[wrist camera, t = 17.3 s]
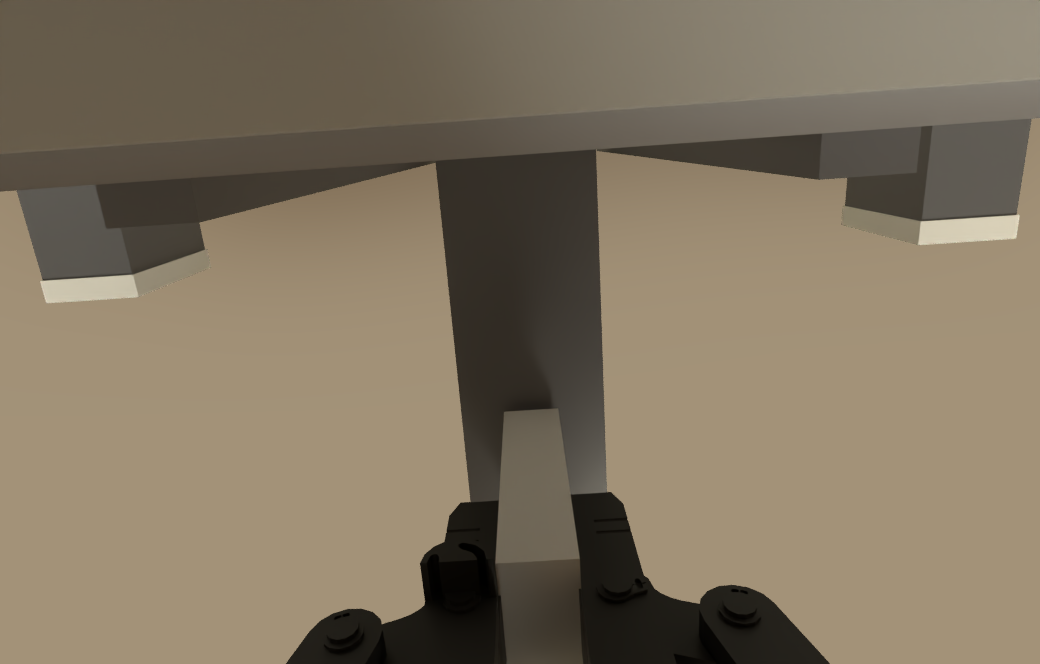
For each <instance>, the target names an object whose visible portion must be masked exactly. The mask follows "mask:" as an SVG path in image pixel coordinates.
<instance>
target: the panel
mask: <svg viewBox="0 0 1040 664" xmlns="http://www.w3.org/2000/svg"><path fill="white" fill-rule="evenodd" d="M1033 118H1040V0H0V191H14V190H17V193H18V197H19V200H20V204H21V207H22V210H23V213H24V217H25V221H26V224H27V227H28V231H29V234H30V238H31V241H32V245H33V248H34V251H35V255H36V258H37V262H38V265H39V268H40V272H41V275H42V279H43V280H42V281H40V284H41V287H42V290H43V294H44V297H45V301H46V303H57V302H72V301H87V300H102V299H117V298H132V297H140V296H142V295H145V294H147V293H150V292H152V291H155V290H157V289H160V288H162V287H164V286H167V285H169V284H171V283H174V282H177V281H179V280H182V279H184V278H186V277H189V276H191V275H194V274H196V273H198V272H201V271H204V270H206V269H208V268H211V265H210V260H209V256H208V251H207V249H205V248H204V243H203V239H202V234H201V229H200V224H199V222H203V221H207V220H211V219H215V218H219V217H223V216H227V215H230V214H235V213H239V212H242V211H246V210H250V209H254V208H258V207H262V206H266V205H270V204H274V203H278V202H282V201H286V200H290V199H293V198H298V197H302V196H306V195H309V194H313V193H316V192H321V191H325V190H329V189H333V188H337V187H341V186H345V185H349V184H353V183H356V182H361V181H364V180H369V179H372V178H377V177H381V176H385V175H388V174H392V173H396V172H400V171H404V170H408V169H412V168H416V167H420V166H424V165H428V164H432V163H436V161H438V160H452V159H467V158H481V157H495V156H509V155H523V154H537V153H552V152H566V151H580V150H594V149H597V151H602V152H610V153H618V154H626V155H634V156H641V157H649V158H657V159H664V160H672V161H679V162H687V163H695V164H703V165H710V166H718V167H726V168H734V169H741V170H749V171H757V172H765V173H772V174H780V175H787V176H795V177H803V178H811V179H819V180H820V179H834V178H847V190H846V202H845V206H843V210H842V223H841V224H842V225H844V226H848V227H851V228H855V229H859V230H863V231H867V232H871V233H874V234H878V235H882V236H886V237H889V238H893V239H897V240H901V241H905V242H909V243H912V244H916V245H925V244H941V243H956V242H970V241H986V240H1001V239H1015V238H1016V236H1017V235H1016V234H1017V229H1018V223H1019V217H1020V215H1016V214H1017V207H1018V201H1019V194H1020V188H1021V182H1022V176H1023V169H1024V163H1025V157H1026V150H1027V143H1028V138H1029V131H1030V125H1031V119H1033Z"/></svg>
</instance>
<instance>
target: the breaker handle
mask: <svg viewBox="0 0 1040 664" xmlns="http://www.w3.org/2000/svg"><path fill="white" fill-rule="evenodd" d="M436 170H437V180H438V189H439V199H440V209H441V218H442V228H443V238H444V248H445V257H446V266H447V277H448V287H449V296H450V306H451V316H452V325H453V335H454V343H455V344H454V345H455V354H456V364H457V373H458V383H459V393H460V403H461V412H462V422H463V432H464V441H465V451H466V460H467V470H468V480H469V490H470V500H471V502H482V501H498V500H499V491H500V474H501V457H502V439H503V422H504V412H508V411H524V410H539V409H555V408H558V411H559V418H560V425H561V432H562V439H563V446H564V453H565V460H566V467H567V473H568V480H569V487H570V494H588V493H604V492H607V482H606V453H605V452H606V451H605V420H604V390H603V357H602V326H601V295H600V263H599V233H598V201H597V170H596V149H594V150H580V151H566V152H552V153H537V154H523V155H509V156H495V157H481V158H467V159H452V160H438V161H436Z"/></svg>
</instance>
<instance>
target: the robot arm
mask: <svg viewBox="0 0 1040 664" xmlns="http://www.w3.org/2000/svg"><path fill="white" fill-rule="evenodd" d="M420 566H421V573H422V581H423V589H424V596H425V605H424V606H423V607H422V608H421V609H420V610H418V611H416V612H415V613H413V614H411V615H409V616H406V617H404V618H401V619H398V620H395V621H392V622H388V623H385V624H381V620H380V618H378V616H376V615H375V614H374V613H373V612H370V611H367V610H364V609H347V610H343V611H340V612H337V613H333V614H332V615H330V616H328V617H326V618H325V619H323V620H321V621H320V622H319V623H318V624H317V625H316V626H315V627H314V628H313V629H312V630H311V631H310V632H309V633H308V634H307V636H306V637H305V638H304V640H303V641H302V643H301V644H300V645H299V647H298V648H297V650H296V651H295V652H294V654H293V655H292V656H291V657H290V659H289V660H288V662H287V663H286V664H829V662H828V661H827V660H826V659H825V658H824V657H823V656H822V655H821V654H820V652H819V651H818V650H817V649H816V648H815V647H814V646H813V645H812V644H811V643H810V642H809V640H808V639H807V638H806V637H805V636H804V635H803V634H802V633H801V632H800V631H799V630H798V629H797V627H796V626H795V625H794V624H793V623H792V622H791V621H790V620H789V619H788V618H787V616H786V615H785V614H784V613H783V612H782V611H781V610H780V609H779V608H778V607H777V606H776V604H775V603H774V602H772V601H771V600H770V599H769V598H767V597H766V596H765V595H764V594H762V593H760V592H757V591H755V590H753V589H750V588H747V587H741V586H736V585H728V586H718V587H716V588H714V589H711V590H709V591H707V592H706V594H705V595H704V596H703V597H702V598H701V601H700V604H697V603H691V602H686V601H681V600H677V599H673V598H670V597H668V596H665V595H664V594H661V593H660V592H658V591H657V590H655V589H654V587H653V586H652V584H651V582H650V581H649V579H648V578H647V577H645V576H644V575H643V572H642V568H641V565H640V561H639V558H638V554H637V551H636V547H635V544H634V540H633V537H632V533H631V531H630V526H629V523H628V521H627V516H626V512H625V509H624V505H623V503H622V502H621V501H620V500H619V499H618V498H616V497H615V496H614V495H613V494H612V493H611V492H604V493H588V494H570V487H569V480H568V473H567V467H566V460H565V453H564V446H563V439H562V432H561V425H560V418H559V411H558V408H555V409H539V410H524V411H508V412H504V422H503V439H502V457H501V474H500V491H499V500H498V501H482V502H465V503H460V504H459V505H458V506H457V508H456V509H455V510H454V511H453V512H452V514H451V515H450V516H449V521H448V527H447V533H446V537H445V542H444V543H442V544H439V545H437V546H435V547H433V548H432V549H431V550H430V551H428V552H427V553H426V554H425V555H424V557H423V559H422V561H421V563H420Z"/></svg>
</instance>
